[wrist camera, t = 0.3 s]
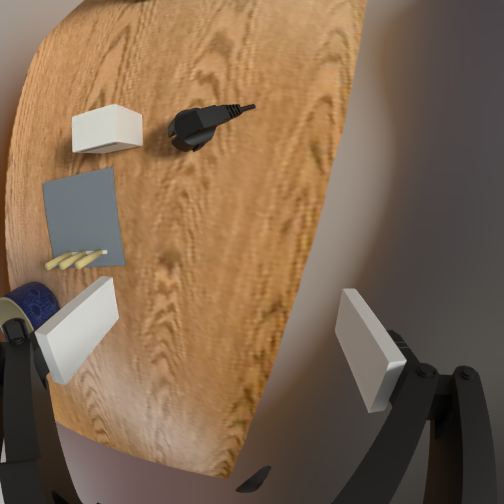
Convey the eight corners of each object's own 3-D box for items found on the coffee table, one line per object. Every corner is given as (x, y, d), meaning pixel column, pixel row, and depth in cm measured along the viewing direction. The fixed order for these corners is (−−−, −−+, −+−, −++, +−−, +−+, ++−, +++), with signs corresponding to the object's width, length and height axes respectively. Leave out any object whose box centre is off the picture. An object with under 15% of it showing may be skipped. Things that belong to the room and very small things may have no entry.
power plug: (265, 121, 36) (191, 145, 30) (237, 139, 42) (172, 164, 37) (248, 87, 35) (173, 105, 29) (223, 109, 41) (156, 130, 35)
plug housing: (103, 123, 37) (72, 117, 28) (141, 114, 37) (115, 103, 28) (104, 153, 38) (72, 152, 30) (143, 146, 38) (115, 141, 29)
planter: (32, 321, 48) (5, 345, 38) (22, 271, 45) (-11, 291, 34) (71, 335, 48) (44, 364, 38) (62, 282, 45) (28, 305, 34)
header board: (44, 183, 39) (17, 187, 32) (113, 167, 39) (88, 168, 32) (57, 267, 44) (34, 281, 37) (125, 264, 43) (105, 281, 36)
